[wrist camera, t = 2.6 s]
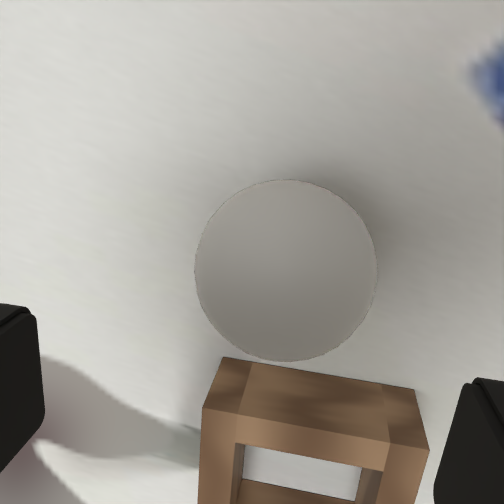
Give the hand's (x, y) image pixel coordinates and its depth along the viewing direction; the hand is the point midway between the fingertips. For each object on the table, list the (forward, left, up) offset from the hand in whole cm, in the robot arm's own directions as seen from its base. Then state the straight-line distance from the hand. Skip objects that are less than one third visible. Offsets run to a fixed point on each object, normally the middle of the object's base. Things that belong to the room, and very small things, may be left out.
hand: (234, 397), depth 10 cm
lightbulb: (0, -1, -14) cm, 14 cm away
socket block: (-2, +14, -14) cm, 20 cm away
